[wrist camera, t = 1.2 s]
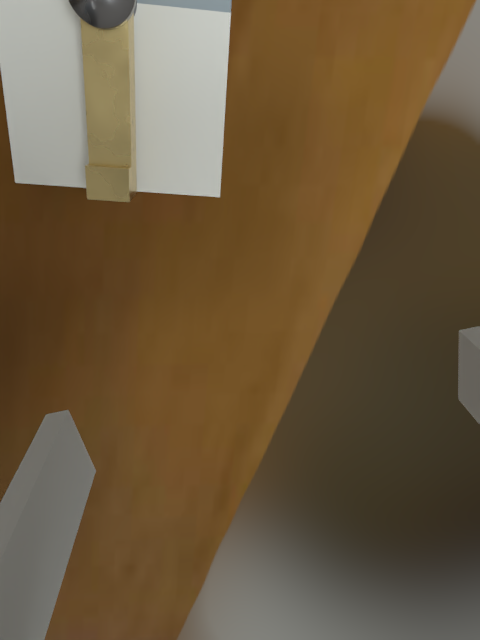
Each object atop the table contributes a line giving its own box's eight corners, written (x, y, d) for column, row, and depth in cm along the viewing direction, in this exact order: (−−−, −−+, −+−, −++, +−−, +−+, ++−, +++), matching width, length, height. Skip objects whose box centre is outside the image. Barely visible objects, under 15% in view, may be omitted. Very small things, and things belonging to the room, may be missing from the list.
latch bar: (76, -49, 26) (60, -66, 23) (141, -42, 26) (133, -58, 23) (90, 190, 31) (78, 198, 28) (144, 193, 31) (137, 202, 29)
